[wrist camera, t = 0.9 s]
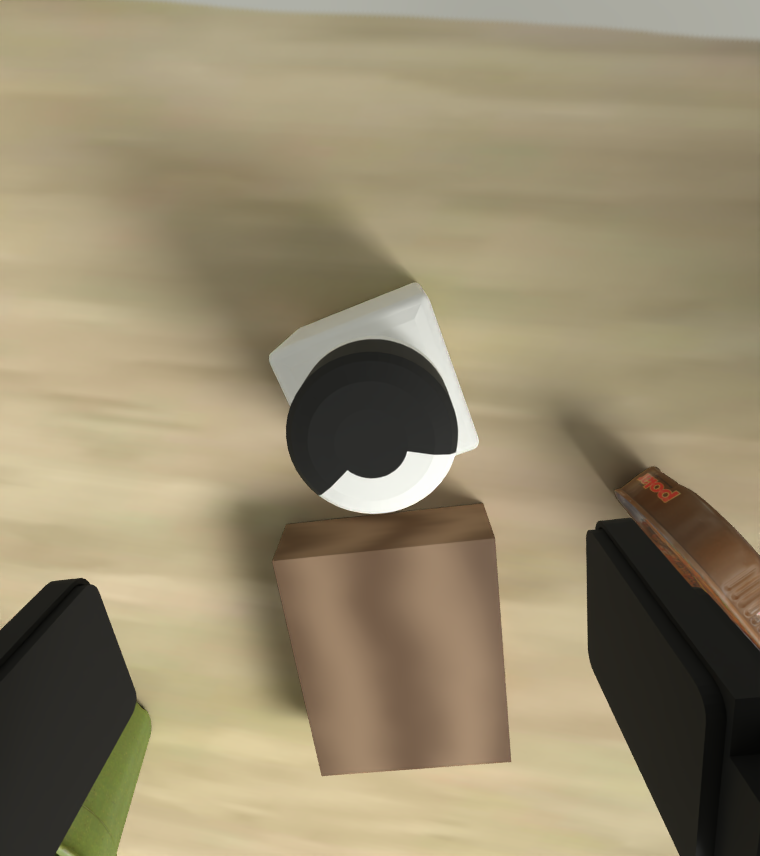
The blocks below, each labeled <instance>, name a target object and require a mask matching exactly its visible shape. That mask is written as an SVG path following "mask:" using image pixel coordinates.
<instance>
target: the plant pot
mask: <svg viewBox="0 0 760 856" xmlns="http://www.w3.org/2000/svg"><path fill="white" fill-rule="evenodd" d="M150 734H151V720H150V717H149V714H148V713H147V711H146V710H144V709H142V708H141V707H140V706H139V704H138V703H137V702H136V706H135V710H134V712H133V714H132V716H131V718H130V720H129V722H128V723H127V725H126V727H125V729H124V731H123V732H122V734H121V736H120V738H119V740H118V741H117V743H116V745H115V747H114V749H113V750H112V752H111V754H110V756H109V758H108V760H107V761H106V763H105V765H104V767H103V769H102V770H101V772H100V774H99V776H98V778H97V779H96V781H95V783H94V785H93V787H92V789H91V790H90V792H89V794H88V796H87V798H86V799H85V801H84V803H83V805H82V807H81V808H80V810H79V812H78V814H77V816H76V818H75V819H74V821H73V823H72V825H71V827H70V828H69V830H68V832H67V834H66V836H65V837H64V839H63V841H62V843H61V845H60V847H59V848H58V850H57V852H56V854H55V856H117V849H118V846H119V842H120V839H121V835H122V831H123V828H124V825H125V821H126V818H127V814H128V811H129V807H130V804H131V800H132V797H133V793H134V790H135V786H136V783H137V780H138V776H139V773H140V769H141V766H142V762H143V759H144V755H145V752H146V748H147V745H148V741H149V738H150Z"/></svg>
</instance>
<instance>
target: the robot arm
mask: <svg viewBox="0 0 760 856" xmlns="http://www.w3.org/2000/svg"><path fill="white" fill-rule="evenodd" d="M586 557H587V623H588V654H589V659H590V663H591V666H592V669H593V672H594V674H595V676H596V678H597V680H598V682H599V684H600V687H601V689H602V691H603V693H604V695H605V697H606V699H607V701H608V704H609V706H610V708H611V710H612V712H613V714H614V716H615V719H616V721H617V723H618V725H619V727H620V729H621V731H622V733H623V736H624V738H625V740H626V742H627V744H628V746H629V748H630V751H631V753H632V755H633V757H634V759H635V761H636V763H637V765H638V768H639V770H640V772H641V774H642V776H643V778H644V780H645V783H646V785H647V787H648V789H649V791H650V793H651V795H652V797H653V800H654V802H655V804H656V806H657V808H658V810H659V812H660V815H661V817H662V819H663V821H664V823H665V825H666V827H667V829H668V832H669V834H670V836H671V838H672V840H673V842H674V844H675V847H676V849H677V851H678V853H679V855H680V856H760V651H759V650H758V648H757V647H756V646H755V645H754V644H753V643H752V642H751V641H750V640H749V638H748V637H747V636H746V635H745V634H744V633H743V632H742V631H741V630H740V628H739V627H738V626H737V625H736V624H735V623H734V622H733V621H732V620H731V618H730V617H729V616H728V615H727V614H726V613H725V612H724V611H723V610H722V608H721V607H720V606H719V605H718V604H717V603H716V602H715V601H714V600H713V598H712V597H711V596H710V595H709V594H708V593H707V592H705V591H704V590H703V589H702V588H699V587H692V586H691V585H690V584H689V583H688V582H687V581H686V579H685V578H684V577H683V576H682V575H681V574H680V573H679V571H678V570H677V569H676V568H675V567H674V566H673V565H672V563H671V562H670V561H669V560H668V559H667V558H666V556H665V555H664V554H663V553H662V552H661V551H660V550H659V548H658V547H657V546H656V545H655V544H654V543H653V542H652V540H651V539H650V538H649V537H648V536H647V535H646V534H645V532H644V531H643V530H642V529H641V528H640V527H639V525H638V524H637V523H636V522H635V521H634V520H633V519H632V518H624V519H614V520H605V521H598V522H597V524H596V530H588V532H587V535H586ZM135 706H136V691H135V688H134V686H133V683H132V680H131V677H130V675H129V672H128V669H127V667H126V664H125V661H124V658H123V656H122V653H121V650H120V648H119V645H118V642H117V639H116V637H115V634H114V631H113V629H112V626H111V623H110V620H109V618H108V615H107V612H106V610H105V607H104V604H103V601H102V599H101V596H100V593H99V591H98V589H97V587H95V586H94V585H90V583H89V582H88V581H87V580H86V579H83V578H77V579H68V580H59V581H52V582H50V583H48V584H47V585H46V586H45V587H44V588H43V589H42V590H41V591H40V592H39V593H38V594H37V595H36V596H35V597H34V598H33V599H32V600H31V601H30V602H28V603H27V604H26V605H25V606H24V607H23V608H22V609H21V610H20V611H19V612H18V613H17V614H16V615H15V616H14V617H13V618H12V619H11V620H10V621H9V622H8V623H7V624H6V625H5V626H4V627H3V628H2V629H1V630H0V856H55V854H56V852H57V850H58V848H59V847H60V845H61V843H62V841H63V839H64V837H65V836H66V834H67V832H68V830H69V828H70V827H71V825H72V823H73V821H74V819H75V818H76V816H77V814H78V812H79V810H80V808H81V807H82V805H83V803H84V801H85V799H86V798H87V796H88V794H89V792H90V790H91V789H92V787H93V785H94V783H95V781H96V779H97V778H98V776H99V774H100V772H101V770H102V769H103V767H104V765H105V763H106V761H107V760H108V758H109V756H110V754H111V752H112V750H113V749H114V747H115V745H116V743H117V741H118V740H119V738H120V736H121V734H122V732H123V731H124V729H125V727H126V725H127V723H128V722H129V720H130V718H131V716H132V714H133V712H134V710H135Z"/></svg>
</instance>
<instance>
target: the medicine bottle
mask: <svg viewBox="0 0 760 856" xmlns="http://www.w3.org/2000/svg"><path fill="white" fill-rule="evenodd" d="M269 362H270V365H271V367H272V369H273V371H274V373H275V375H276V378H277V380H278V382H279V384H280V386H281V388H282V390H283V393H284V395H285V397H286V399H287V401H288V403H289V406H290V409H289V413H288V417H287V424H286V439H287V446H288V451H289V454H290V457H291V460H292V462H293V464H294V466H295V468H296V470H297V472H298V473H299V475H300V476H301V478H302V479H303V481H304V482H305V483H306V484H307V485H308V486H309V487H310V488H311V489H312V490H313V491H314V492H315V493H316V494H317V495H319V496H320V497H322V498H323V499H325V500H326V501H328V502H330V503H332V504H334V505H336V506H338V507H340V508H343V509H346V510H349V511H354V512H359V513H368V514H377V513H387V512H393V511H397V510H400V509H404V508H406V507H409V506H411V505H413V504H415V503H417V502H418V501H420V500H422V499H423V498H425V497H426V496H427V495H429V494H430V493H431V492H432V491H433V490H434V489H435V488H436V487H437V486H438V485H439V484H440V483H441V482H442V480H443V479H444V477H445V476H446V474H447V473H448V471H449V469H450V467H451V465H452V463H453V460H454V457H455V456H456V455H459V454H461V453H464V452H467V451H470V450H473V449H475V448H476V447H477V446H478V444H479V438H478V435H477V432H476V430H475V427H474V424H473V421H472V418H471V416H470V413H469V410H468V407H467V404H466V401H465V399H464V396H463V393H462V390H461V387H460V384H459V382H458V379H457V376H456V373H455V370H454V367H453V365H452V362H451V359H450V356H449V353H448V351H447V348H446V345H445V342H444V339H443V336H442V334H441V331H440V328H439V325H438V322H437V319H436V317H435V314H434V311H433V308H432V305H431V302H430V300H429V298H428V296H427V295H426V293H425V291H424V290H423V288H422V287H421V285H420V284H419V283H417V282H414V283H410V284H408V285H405V286H403V287H400V288H398V289H395V290H393V291H390V292H388V293H385V294H383V295H380V296H378V297H375V298H373V299H370V300H368V301H365V302H363V303H360V304H358V305H356V306H353V307H351V308H348V309H346V310H343V311H341V312H338V313H336V314H333V315H331V316H328V317H326V318H323V319H321V320H318V321H316V322H313V323H311V324H308V325H306V326H303V327H301V328H299V329H297V330H296V331H295V332H294V333H293V334H292V335H291V336H289V337H288V338H287V339H286V340H285V341H284V342H283V343H282V344H280V345H279V346H278V347H277V348H276V349H275V350H274V351H273V352H271V353H270V356H269Z"/></svg>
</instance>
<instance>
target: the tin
mask: <svg viewBox="0 0 760 856" xmlns="http://www.w3.org/2000/svg"><path fill="white" fill-rule="evenodd" d="M614 492H615V495H616V497H617V499H618V500H619V502H620V503H621V504H622V506H623V507H624V508H625V509H626V510H627V512H628V513H629V514H630V515H631V517H632V518H633V519H634V520H635V522H636V523H637V524H638V525H639V526H640V528H641V529H642V530H643V531H644V532H645V534H646V535H647V536H648V537H649V538H650V539H651V540H652V542H653V543H654V544H655V545H656V546H657V547H658V548H659V550H660V551H661V552H662V553H663V554H664V555H665V556H666V558H667V559H668V560H669V561H670V562H671V563H672V565H673V566H674V567H675V568H676V569H677V570H678V571H679V573H680V574H681V575H682V576H683V577H684V578H685V579H686V581H687V582H688V583H689V584H690V585H691V586H692V587H699V588H702V589H703V590H704V591H705V592H707V593H708V594H709V595H710V596H711V597H712V598H713V600H714V601H715V602H716V603H717V604H718V605H719V606H720V607H721V608H722V610H723V611H724V612H725V613H726V614H727V615H728V616H729V617H730V618H731V620H732V621H733V622H734V623H735V624H736V625H737V626H738V627H739V628H740V630H741V631H742V632H743V633H744V634H745V635H746V636H747V637H748V638H749V640H750V641H751V642H752V643H753V644H754V645H755V646H756V647H757V648H758V650H759V651H760V555H759V554H758V553H757V552H756V551H755V550H754V549H753V548H752V546H751V545H750V544H749V543H748V542H747V541H746V540H745V539H744V538H743V537H742V535H741V534H740V533H739V532H738V531H737V530H736V529H735V528H734V527H733V526H732V525H731V524H730V523H729V522H728V521H727V520H726V519H725V518H724V517H722V516H721V515H720V514H719V513H718V512H717V511H716V510H715V509H714V508H713V507H712V506H711V505H709V504H708V503H707V502H706V501H705V500H703V499H702V498H701V497H700V496H699V495H697V494H696V493H694V492H693V491H691V490H690V489H688V488H686V487H684V486H682V485H680V484H678V483H677V482H676V481H674V480H673V479H671V478H670V477H668V476H667V475H665V474H664V473H662V472H661V471H660V469H659V468H657V467H655V466H653V467H650V468H648V469H646V470H645V471H643V472H642V473H640V474H639V475H637V476H636V477H635V478H634V479H632V480H631V481H630V482H628V483H627V484H626V485H624V486H623V487H622V488H620V489H616V490H615V491H614Z"/></svg>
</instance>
